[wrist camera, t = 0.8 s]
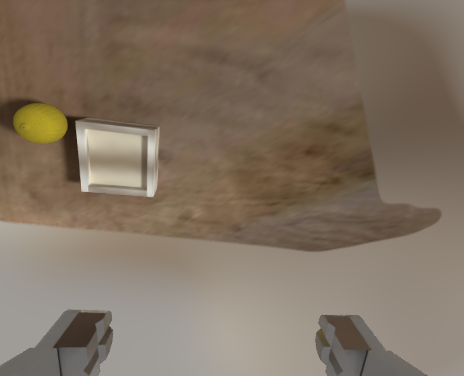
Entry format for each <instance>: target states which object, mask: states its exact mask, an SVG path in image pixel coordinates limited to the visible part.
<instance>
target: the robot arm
mask: <svg viewBox="0 0 464 376" xmlns="http://www.w3.org/2000/svg"><path fill="white" fill-rule="evenodd" d="M111 321H112V314H111V312H110V311H98V310H67V311H65V312H64V313H63V314H62V315H61V317H60V318H59V319H58V320H57V321H56V323H55V324H54V325H53V326H52V327H51V329H50V330H49V331H48V332H47V334H46V335H45V336H44V337H43V338H42V340H41V341H40V342H39V343H38V344H37V346H36V347H35V348H29V349H27V350H26V351H24V352H23V353H21V354H19V355H17V356H16V357H14V358H12V359H11V360H9V361H7V362H5V363H4V364H2V365H1V366H0V376H98V375H99V373H100V364H101V363H102V362H103V361H104V360H105V359H106V358H107V356H108V354H109V351H110V348H111V344H112V339H113V338H112V337H113V329H111V327H110V326H109V324H110V323H111ZM319 325H320V327H321V329H320V330H319V331H318V332H317V333H316V349H317V353H318V355H319V358H320V360H321V361H322V362H323V363H324V364H325V365H327V367H326V374H327V376H427V375H426V374H424V373H423V372H421V371H420V370H418V369H417V368H415V367H414V366H412V365H411V364H409V363H408V362H406V361H405V360H403V359H402V358H400V357H399V356H397V355H396V354H394V353H393V352H391V351H386V350H385V348H384V347H383V346H382V344H381V343H380V342H379V340H378V339H377V338H376V336H375V335H374V334H373V332H372V331H371V330H370V328H369V327H368V326H367V324H366V323H365V322H364V320H363V319H362V318H361V317H360V316H358V315H321V316H320V318H319Z"/></svg>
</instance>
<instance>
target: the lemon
mask: <svg viewBox="0 0 464 376" xmlns="http://www.w3.org/2000/svg"><path fill="white" fill-rule="evenodd" d="M13 125H14V128H15V130H16V131H17V133H18V134H19V135H20V136H21V137H23V138H24V139H26V140H28V141H30V142H34V143H41V144H47V143H52V142H55V141H57V140H59V139H61V138H62V137H63V136H64V135H65V133H66V131H67V127H68V124H67V120H66V117H65V116H64V114H63V113H62V112H61V111H60V110H58V109H57V108H55V107H53V106H51V105H49V104H43V103H32V104H29V105H26V106H23V107H22V108H20V109H19V110H18V111H17V112H16V113H15V115H14V118H13Z"/></svg>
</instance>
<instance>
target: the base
mask: <svg viewBox="0 0 464 376" xmlns="http://www.w3.org/2000/svg"><path fill="white" fill-rule="evenodd" d="M75 122H76V133H77V144H78V155H79V166H80V178H81V189H82V191H84V192H97V193H110V194H122V195H135V196H147V197H153V196H154V194H155V192H156V190H157V185H158V154H159V126H151V125H143V124H135V123H127V122H119V121H111V120H103V119H95V118H85V119H80V120H76V121H75Z"/></svg>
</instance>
